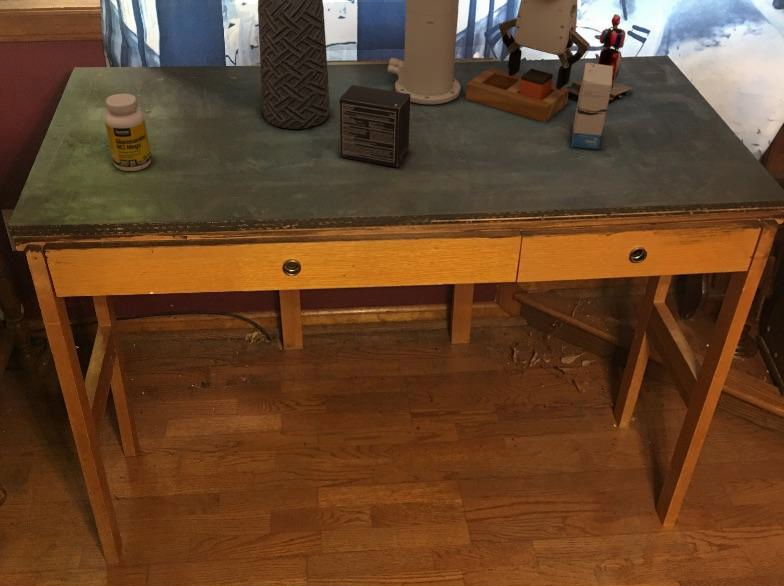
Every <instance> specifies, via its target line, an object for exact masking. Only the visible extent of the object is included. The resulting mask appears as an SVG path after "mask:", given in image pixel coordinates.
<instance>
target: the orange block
mask: <svg viewBox="0 0 784 586" xmlns="http://www.w3.org/2000/svg"><path fill="white" fill-rule="evenodd" d="M520 76H521V81H520V89H519V94H522V95H526V96H529V97H533V98H536V99H540V100H543V99H545V98H546V97H547V96H548V95H550V90H551V84H553V77H554V74H553V73H550V72H547V71H542V70H539V69H536V68H530V69H528V71H526V72H525V73H524V74H522V75H520Z"/></svg>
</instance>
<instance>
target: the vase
mask: <svg viewBox="0 0 784 586" xmlns="http://www.w3.org/2000/svg"><path fill="white" fill-rule="evenodd" d="M257 22H258V40H259V41H258V42H259V45H258V46H259V65H260V67H259V68H260V87H261V90H260V91H261V107H262V114H263V118H264V119H265V121H267V122H268V123H269V124H271V125H273V126H275V127H279V128H282V129H283V128H284V129H290V130H291V129H292V130H293V129H294V130H297V129H298V130H301V129H308V128H312V127H315V126H316V127H317V126H318V125H321V124H322V123H324V122H325V121H326V120H328V118H329V115H330V111H331V106H330V87H329V73H328V71H329V70H328V57H327V41H326V39H327V38H326V24H325V9H324V1H323V0H257Z"/></svg>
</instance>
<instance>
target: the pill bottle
mask: <svg viewBox="0 0 784 586" xmlns="http://www.w3.org/2000/svg"><path fill="white" fill-rule="evenodd" d="M105 105H106V110H107V112H106V114H105V116H104V123H105V128H106V134H107V139H108V143H109V148H110V153H111V157H112V162H113V165H114V167H115V168H117V169H118V170H121V171H123V172H135V171H136V172H137V171H140V170H144V169H146V168H147V167H149V166H150V164H151V163H152V154H151V148H150V143H149V137H148V131H147V126H146V120H145V115H144V113H143V112H142V111H141V110H140V109H139V108H138V101H137V98H136V96H135V95H133V94H131V93H115V94H112V95H110V96H108V97H107V98H106V99H105Z"/></svg>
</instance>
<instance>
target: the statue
mask: <svg viewBox="0 0 784 586" xmlns="http://www.w3.org/2000/svg"><path fill="white" fill-rule="evenodd" d="M620 23H621V15H619V14H617V13H614V15H613V16H612V18H611V24H612V25H611V26H610V27H609V28H605V29H602V31H601V34H600V37H599V43H600V44H601V45H602V49H601V50H600V53H599V57H598V61H597V64H601V65H608V66H613V74H612V87H611V92H610V97H609V101H610V102H613V100H614V99H615V98H616V96H617V97H618V98H619V99H620V98H623V95H622V94H626V95H627V96H628V94H629V93H630V91H631V90H632V89H633V87H631V86H626V85H624V84H621V83H619V82H618V83H617V82H615V80H616V79H617V78H618V76H619V72H620V68H621V63H622V59H623V56H622V52H621V51H619V50H620V49H623V48H624V45H625V41H626V31H625V29H622V28H619V25H620ZM581 83H582V79H579V80H576V81H573V82H572V84H571V86H566V88H567V89H569V93H568V95H570V96H571V97H572V98H573V99H577V98H579V93H580V88H581ZM609 101H608V102H609Z"/></svg>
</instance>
